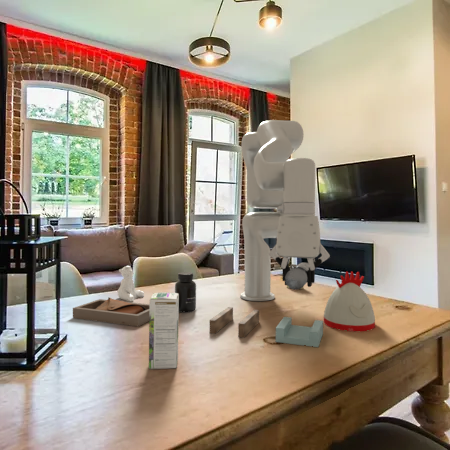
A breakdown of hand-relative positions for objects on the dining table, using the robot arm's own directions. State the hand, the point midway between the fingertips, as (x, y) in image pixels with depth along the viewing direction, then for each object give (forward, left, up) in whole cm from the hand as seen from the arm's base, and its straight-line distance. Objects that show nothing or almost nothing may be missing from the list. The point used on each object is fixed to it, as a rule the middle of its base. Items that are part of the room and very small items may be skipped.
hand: (298, 284), depth 90 cm
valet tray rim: (-2, -55, -14) cm, 57 cm away
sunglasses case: (-2, -55, -14) cm, 57 cm away
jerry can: (-63, -12, -14) cm, 66 cm away
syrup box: (+23, -24, -14) cm, 36 cm away
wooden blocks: (-5, -18, -14) cm, 23 cm away
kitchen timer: (-20, +11, -14) cm, 27 cm away
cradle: (-3, 0, -14) cm, 15 cm away
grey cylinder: (-2, 0, 0) cm, 2 cm away
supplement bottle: (-16, -39, -14) cm, 45 cm away
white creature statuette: (-23, -66, -14) cm, 71 cm away
